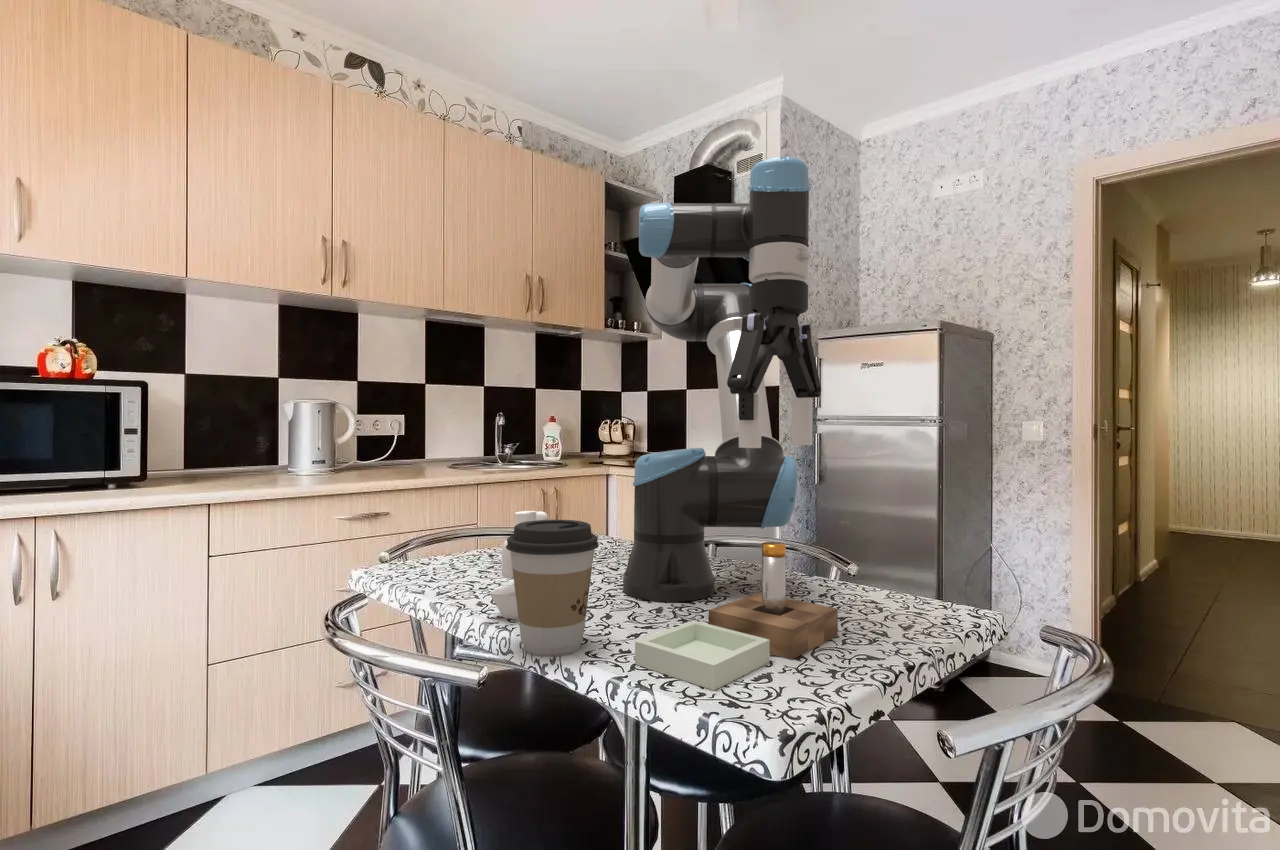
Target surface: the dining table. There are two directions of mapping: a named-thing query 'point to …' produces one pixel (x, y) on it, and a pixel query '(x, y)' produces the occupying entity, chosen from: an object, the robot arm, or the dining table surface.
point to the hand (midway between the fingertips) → (777, 446)
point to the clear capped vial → (773, 577)
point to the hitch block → (779, 624)
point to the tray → (702, 653)
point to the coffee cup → (552, 583)
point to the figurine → (506, 595)
